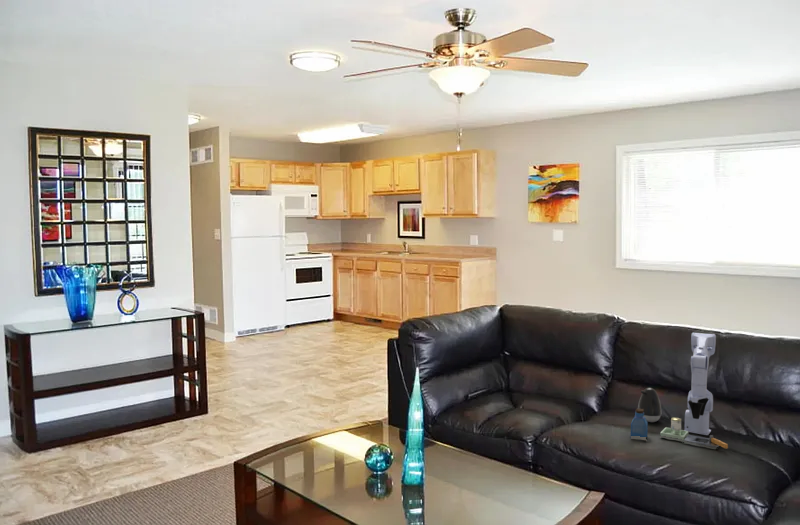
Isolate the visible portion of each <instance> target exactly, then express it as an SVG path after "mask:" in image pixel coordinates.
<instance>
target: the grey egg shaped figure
mask: <svg viewBox="0 0 800 525" xmlns="http://www.w3.org/2000/svg"><path fill="white" fill-rule="evenodd" d="M640 393H641V395H640V398H639V401H638V405H637V409H643V410H644V411H643V412H644V416H643V417H645V418H646V420H647V422H648V423H655V422H657V421H659V420H660V419H661V416H662V414H663V413H662V405H661V404H662V403H661V400H660V397H659V394H658V393H657V391H656V390H655V389H654V388H652V387H646V388H645V389H644V390H641V391H640Z"/></svg>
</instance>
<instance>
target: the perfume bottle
mask: <svg viewBox="0 0 800 525" xmlns="http://www.w3.org/2000/svg"><path fill="white" fill-rule="evenodd" d="M643 411H644V410H643V409H638V408H636V409H635V412H634V413H635V415H634V417H632V420H631V423H630V437H631V436H640V437H647V438H648V431H649V430H648V429H649V428H648V424H649V422H647V420H646V418H645V417H643V416H644V412H643Z"/></svg>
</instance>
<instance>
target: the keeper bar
mask: <svg viewBox="0 0 800 525" xmlns="http://www.w3.org/2000/svg"><path fill="white" fill-rule="evenodd" d="M709 438H710V442H713V443H715V444H717V445H719V446H718V447H722V448H723V449H729V445H728V443H726V442H724V441H722V440H720V439H717V438H714V435H713V434H712V435H711V434H710V435H709ZM719 440H720V441H719Z"/></svg>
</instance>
